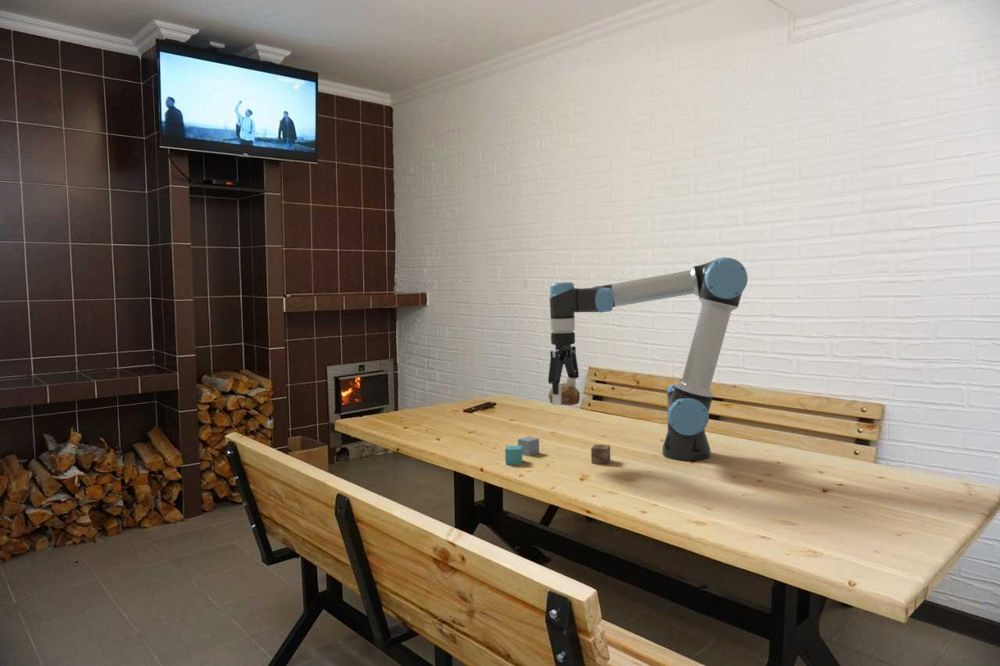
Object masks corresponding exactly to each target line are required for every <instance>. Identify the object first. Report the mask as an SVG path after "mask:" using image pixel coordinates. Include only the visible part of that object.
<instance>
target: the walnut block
mask: <svg viewBox="0 0 1000 666" xmlns="http://www.w3.org/2000/svg"><path fill="white" fill-rule="evenodd" d="M590 449H591V451H590V455H591V458H590V459H591V460H590V461H591V464H596V465H608V464H609V463H610V461H611V445H610V444H599V443H598V444H594V445H592V447H591V448H590Z"/></svg>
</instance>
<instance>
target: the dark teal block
mask: <svg viewBox="0 0 1000 666" xmlns="http://www.w3.org/2000/svg"><path fill="white" fill-rule="evenodd" d="M505 446H506V447H505V449H504V451H505V453H504V454H505V465H509V466H510V465H512V466H513V465H516V466H519V465H520V466H521V465H522V463H523V454H522V445H518V444H517V445H505Z"/></svg>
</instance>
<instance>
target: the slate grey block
mask: <svg viewBox="0 0 1000 666" xmlns="http://www.w3.org/2000/svg"><path fill="white" fill-rule="evenodd" d="M518 445H522V456H528V457H530V456H533V455H537V454H540V438H537V437H531V436H529V435H528V436H524V437H521V438H518V439H517V446H518Z"/></svg>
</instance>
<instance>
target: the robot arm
mask: <svg viewBox="0 0 1000 666" xmlns="http://www.w3.org/2000/svg"><path fill="white" fill-rule="evenodd" d="M748 277H749V276H748V273H747V269H746V267H745V266H744V265H743V263H742V262H740V261H739V260H737V259H735V258H732V257H725V256H724V257H720V258H717V259H716V258H715V259H714V260H711V261H709V262H706V263H703V264H699V265H694V266H692V267H691V268H690V269H689V270H683V271H678V272H671V273H668V274H667V273H666V274H661V275H656V276H650V277H644V278H639V279H633V280H627V281H622V282H616V283H611V284H604V285H597V286H593V287H586V288H585V287H584V288H576V287H575V286H574V285H575V284H574V282H572V281H570V282H568V281H567V282H553V283H551V284H550V287H549V309H550V312H549V313H550V321H549V324H550V330H551V334H550V344H552V345H553V346H555V349H554V350H550V354H549V355H550V362H549V370H548V371H549V372H548V380H547V381H548V384H550V385H551V389H552V400H553V404H552V405H554V404H555V405H554V406H557V405H558V406H563V405H562V403H561V384H562V383H560V382H561V378H562V373H563V369H564V367H565V370H566V371H565V372H566V374H567V376H568V377H567V378H566V383H568V384H571V385H572V386H574V387H575V388H576V389H577V382H576V381H577V380H576V379H578V378H579V377H580V374H579V373H580V372H579V367H578V366H579V365H578V360H577V353H576V352H577V351H576V350H577V349H576V346H574V344H575V343H576V333H575V332H574V331H575V329H576V322H575V313H600V314H601V313H607V312H611V311H613V308H615V307H621V306H628V305H629V306H630V305H635V304H639V303H646V302H653V301H658V300H664V299H665V300H666V299H670V298H675V297H681V296H682V297H683V296H687V295H695V296H697V297H698V300H699V301H700V303H701V307H700V311H699V315H698V319H697V322H696V325H695V330H694V332H693V333H694V334H693V337H692V341H691V345H690V347H689V352H688V356H687V359H686V364H685V367H684V370H683V374H682V378H681V380H680V381H678V382H677V383H675V384H671V385H670V384H669V385H668V387H667V392H666V395H667V414H666V415H667V432H666V435H665V439H664V442H663V444H662V456H664V457H666V458H669V459H672V460H679V461H700V460H705V459H708V458H710V457H711V447H710V444H709V440H708V438H707V435H706V430H705V429H706V427H707V425H708V423H709V422H710V421H709V420H710V417H709V416H710V414H709V413H710V409H711V405H712V403H713V398H714V393H713V392H712V390H711V385H712V382H713V379H714V374H715V371H716V367H717V364H718V361H719V356H720V354H721V349H722V346H723V342H724V339H725V335H726V332H727V328H728V326H729V325H728V324H729V321H730V317H731V314H732V312H733V311H735V310H737V309H738V307H739V305H740V301H741V298H742V294H743V292H744V290H745V289H746V287H747V284H748V281H749V280H748V279H749V278H748ZM572 345H573V346H572Z"/></svg>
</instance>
